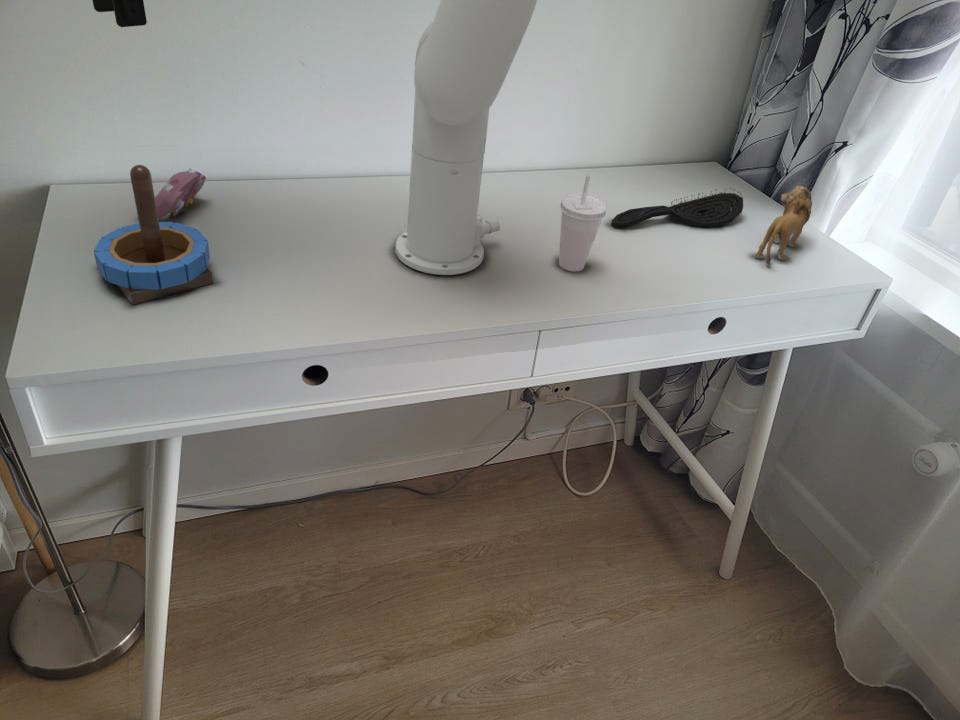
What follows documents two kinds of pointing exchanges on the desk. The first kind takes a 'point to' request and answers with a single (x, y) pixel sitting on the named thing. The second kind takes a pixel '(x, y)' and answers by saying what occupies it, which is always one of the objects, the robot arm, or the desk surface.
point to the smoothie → (579, 227)
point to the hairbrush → (689, 211)
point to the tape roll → (152, 273)
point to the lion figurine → (788, 222)
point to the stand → (153, 241)
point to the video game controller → (178, 192)
